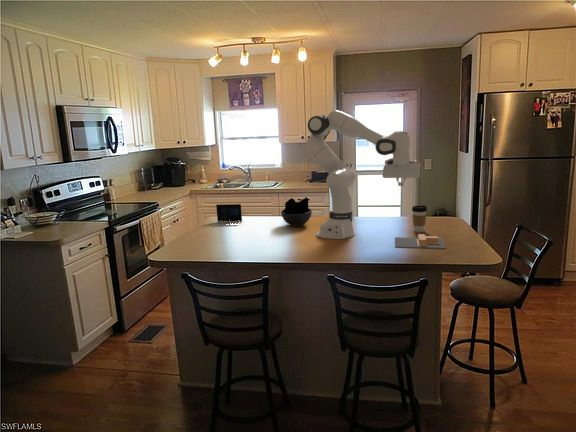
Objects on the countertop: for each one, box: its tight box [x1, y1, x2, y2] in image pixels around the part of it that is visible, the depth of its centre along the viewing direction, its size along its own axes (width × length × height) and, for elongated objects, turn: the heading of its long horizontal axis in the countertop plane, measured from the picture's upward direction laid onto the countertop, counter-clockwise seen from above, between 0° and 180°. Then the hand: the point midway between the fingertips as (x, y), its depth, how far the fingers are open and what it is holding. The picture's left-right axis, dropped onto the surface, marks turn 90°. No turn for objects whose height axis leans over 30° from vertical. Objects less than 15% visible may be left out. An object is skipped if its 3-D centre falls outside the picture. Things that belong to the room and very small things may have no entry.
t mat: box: [394, 236, 447, 250], centre depth 226 cm, size 25×18×1 cm
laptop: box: [211, 203, 243, 227], centre depth 290 cm, size 18×12×13 cm
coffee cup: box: [411, 204, 428, 233], centre depth 249 cm, size 8×8×15 cm
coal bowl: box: [280, 196, 313, 227], centre depth 275 cm, size 20×20×19 cm
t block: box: [417, 233, 440, 245], centre depth 225 cm, size 10×11×3 cm
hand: (400, 185), depth 235 cm, fingers closed
